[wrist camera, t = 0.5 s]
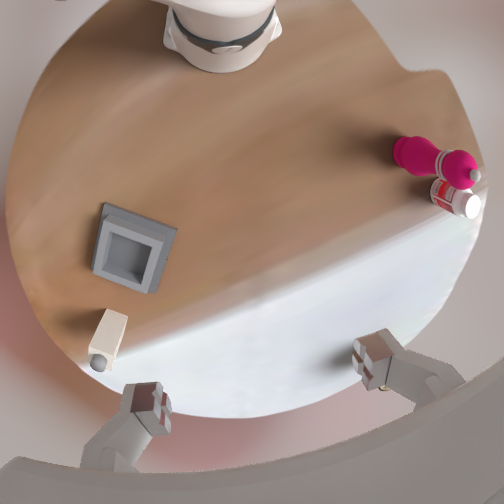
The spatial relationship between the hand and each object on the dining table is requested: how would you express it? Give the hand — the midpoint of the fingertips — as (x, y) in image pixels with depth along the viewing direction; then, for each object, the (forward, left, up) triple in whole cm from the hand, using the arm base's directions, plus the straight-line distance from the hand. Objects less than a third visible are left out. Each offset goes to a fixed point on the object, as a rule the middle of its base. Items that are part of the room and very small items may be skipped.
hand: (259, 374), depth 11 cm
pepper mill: (-2, +33, -40) cm, 52 cm away
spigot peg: (+27, -29, -40) cm, 56 cm away
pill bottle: (+6, +43, -40) cm, 59 cm away
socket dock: (+11, -20, -40) cm, 46 cm away
